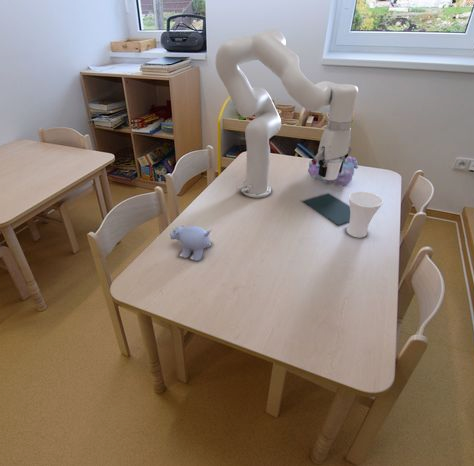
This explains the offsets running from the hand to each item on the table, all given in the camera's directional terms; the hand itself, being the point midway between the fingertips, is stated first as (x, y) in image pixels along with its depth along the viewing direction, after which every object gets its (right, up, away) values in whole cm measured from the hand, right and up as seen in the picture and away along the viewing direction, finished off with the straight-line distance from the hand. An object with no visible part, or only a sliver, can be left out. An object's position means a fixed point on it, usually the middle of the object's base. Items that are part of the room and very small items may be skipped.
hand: (329, 173), depth 121 cm
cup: (+8, -22, -4) cm, 24 cm away
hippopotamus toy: (-50, -28, -8) cm, 58 cm away
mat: (+5, -12, +9) cm, 16 cm away
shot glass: (0, -1, +1) cm, 1 cm away
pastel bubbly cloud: (+11, +3, +30) cm, 32 cm away
